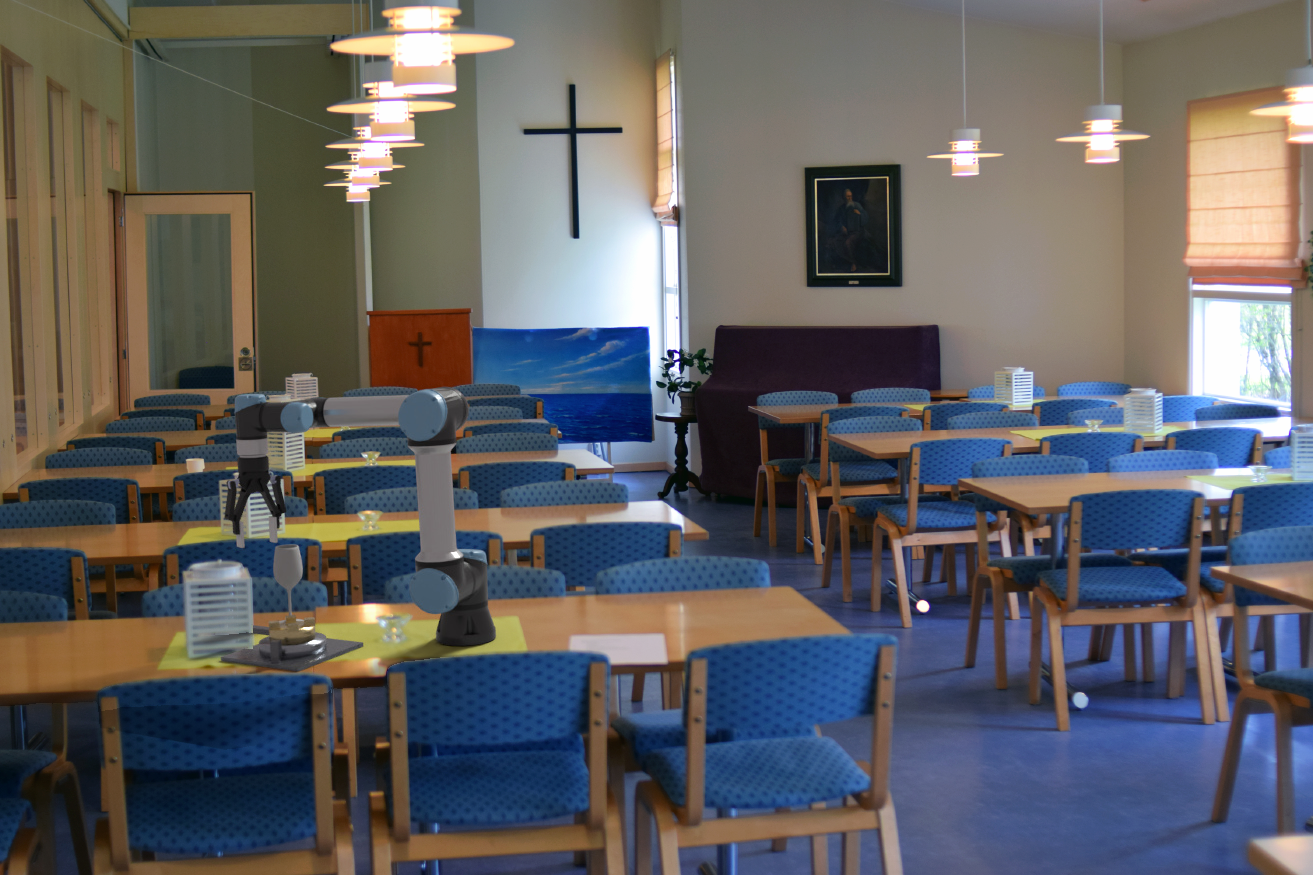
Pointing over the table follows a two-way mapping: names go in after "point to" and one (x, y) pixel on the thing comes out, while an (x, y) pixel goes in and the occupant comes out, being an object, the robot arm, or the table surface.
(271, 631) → the tan handled round piece
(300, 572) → the wineglass
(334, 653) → the housing
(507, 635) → the table surface
